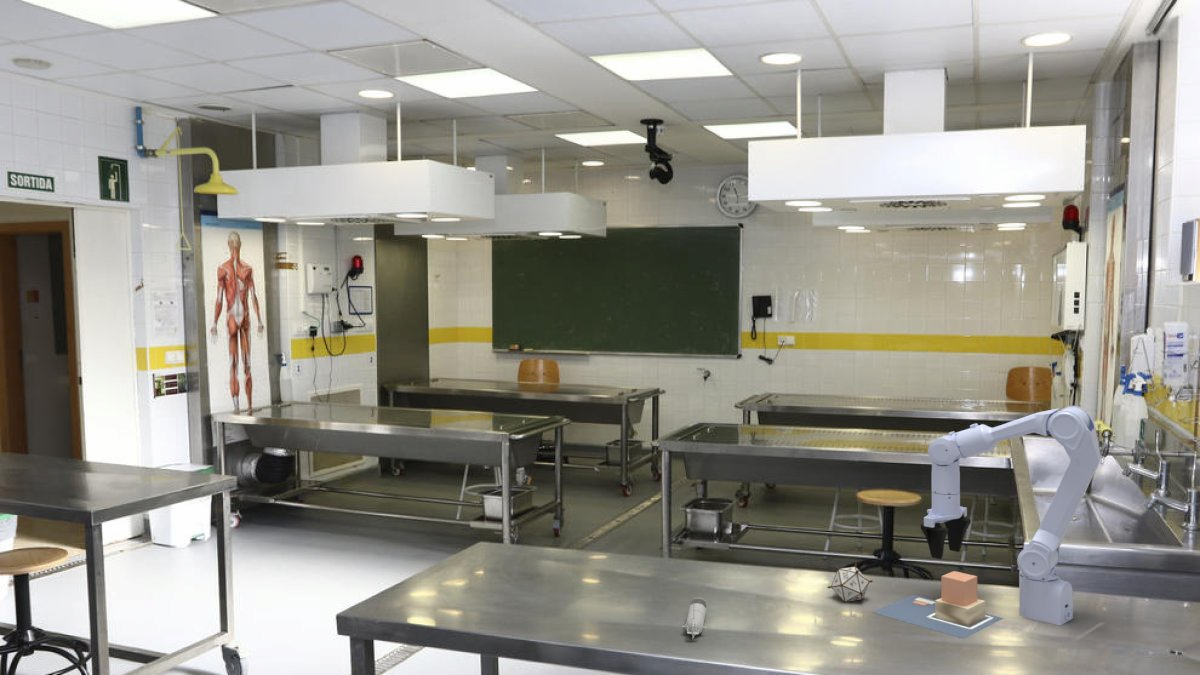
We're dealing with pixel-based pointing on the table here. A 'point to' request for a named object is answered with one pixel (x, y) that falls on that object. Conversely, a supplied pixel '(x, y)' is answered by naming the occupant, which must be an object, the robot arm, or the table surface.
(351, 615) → the table surface
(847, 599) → the game die
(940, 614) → the beech block
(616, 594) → the table surface
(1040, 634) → the table surface
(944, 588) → the terracotta cube
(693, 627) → the torpedo
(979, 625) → the board
